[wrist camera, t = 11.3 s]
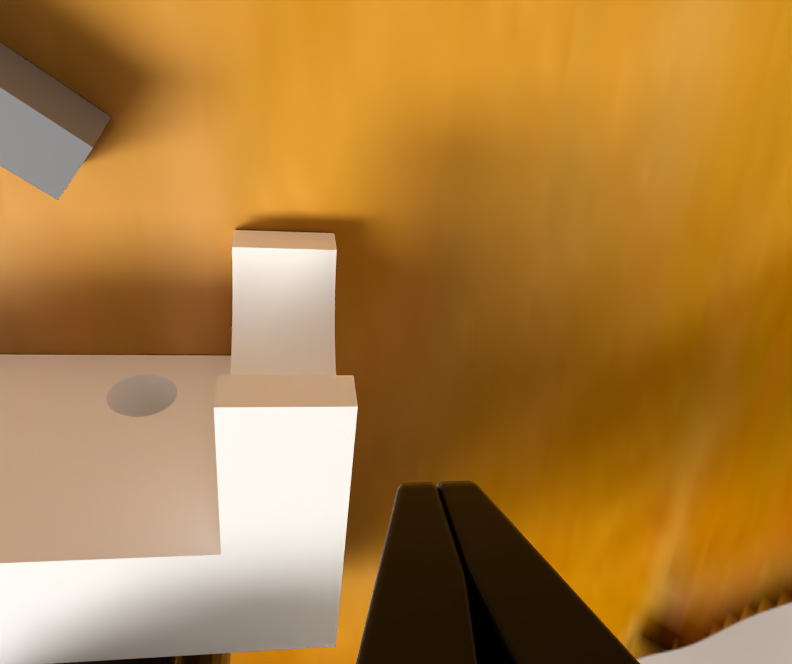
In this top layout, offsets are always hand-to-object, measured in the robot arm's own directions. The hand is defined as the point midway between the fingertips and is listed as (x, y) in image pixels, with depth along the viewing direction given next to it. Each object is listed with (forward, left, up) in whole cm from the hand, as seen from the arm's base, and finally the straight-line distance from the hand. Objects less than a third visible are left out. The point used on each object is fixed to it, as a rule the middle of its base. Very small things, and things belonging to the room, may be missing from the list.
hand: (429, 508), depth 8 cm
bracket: (-10, +7, -8) cm, 15 cm away
